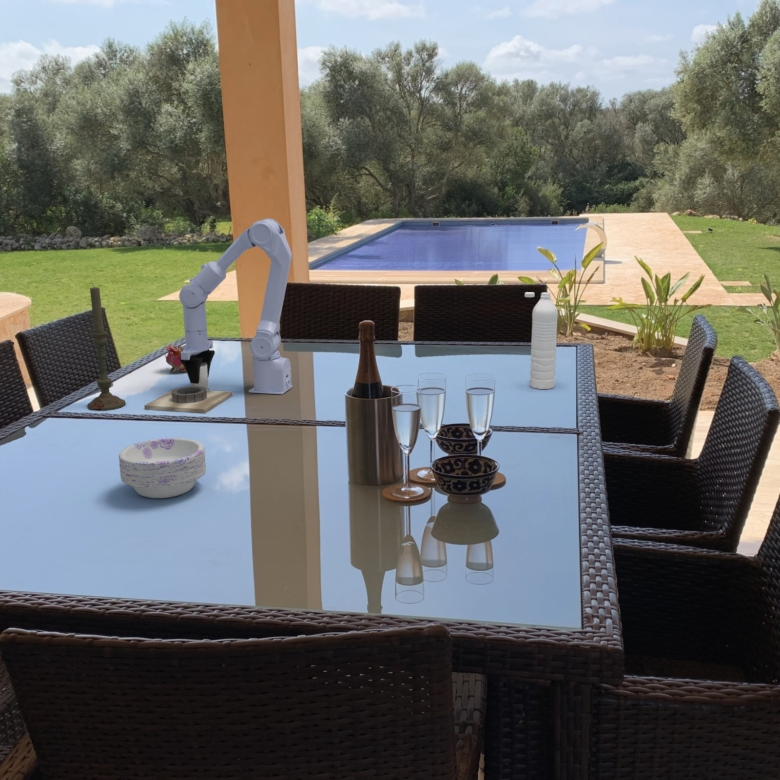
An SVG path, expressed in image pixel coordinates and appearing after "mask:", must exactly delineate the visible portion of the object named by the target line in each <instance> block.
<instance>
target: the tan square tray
mask: <svg viewBox="0 0 780 780" xmlns="http://www.w3.org/2000/svg"><path fill="white" fill-rule="evenodd" d="M232 396H233V391H226V390H225V391H223V390H222V391H221V390H209V389H208V390H206V388H203V387H197V386H191V385H190V386H182V387H178V388H174V389H172V390H170V391H168V392H166V393H165V394H163V395H161V396H159V397H157V398H155V399H154V400H151V401H150V402H148V403H146V404H145V405H144V410H147V411H148V410H150V411H164V412H166V411H167V412H177V413H178V412H179V413H181V412H182V413H193V414H194V413H195V414H207V413H208V412H209V411H211V410H213V409H214V408H216V407H217V406H219V405H220V404H222V403H223V402H225V401H226V400H229V398H231V397H232Z"/></svg>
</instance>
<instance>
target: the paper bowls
mask: <svg viewBox="0 0 780 780" xmlns="http://www.w3.org/2000/svg"><path fill="white" fill-rule="evenodd" d="M118 460H119V464H118V465H119V466H118V467H119V474H120V480H121V482H122V483H123V484H125V485H128V486H130V487H132V488H133V489H134V490H135V491H136V493H137V494H138V495H140V496H143V497H146V498H150V499H167V498H168V499H169V498H174V497H177V496H181V495H184V494H186V493H188V492H189V491H190V490H192V489H193V487H194V486H195V483H196V481H197V480H199V479H201V478H202V477H203V476H205V474H206V472H207V467H206V466H207V463H206V450H205V446H204V444H203V443H202V442H200V441H198V440H196V439H191V438H190V439H189V438H183V437H171V438H170V437H166V438H155V439H150V440H149V439H148V440H144V441H139V442H137V443H134V444H131V445H129V446H126V447H124V448H123V449H122V450H120V452H119V455H118Z"/></svg>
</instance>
